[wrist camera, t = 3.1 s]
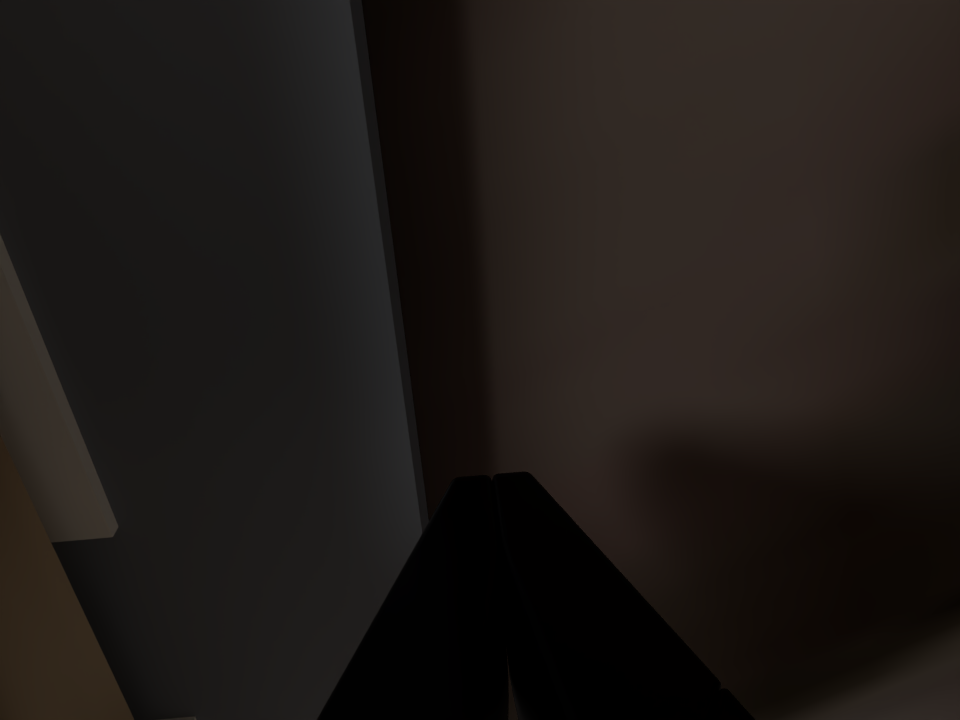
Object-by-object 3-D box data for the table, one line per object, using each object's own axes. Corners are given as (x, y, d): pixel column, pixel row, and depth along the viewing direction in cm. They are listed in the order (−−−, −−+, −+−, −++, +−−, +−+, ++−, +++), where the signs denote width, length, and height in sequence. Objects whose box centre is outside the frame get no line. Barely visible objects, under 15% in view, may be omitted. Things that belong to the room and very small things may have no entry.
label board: (472, 861, 16) (476, 936, 15) (-64, 913, 16) (-106, 993, 15) (338, -172, 7) (319, -199, 6) (-918, -83, 7) (-1216, -92, 6)
